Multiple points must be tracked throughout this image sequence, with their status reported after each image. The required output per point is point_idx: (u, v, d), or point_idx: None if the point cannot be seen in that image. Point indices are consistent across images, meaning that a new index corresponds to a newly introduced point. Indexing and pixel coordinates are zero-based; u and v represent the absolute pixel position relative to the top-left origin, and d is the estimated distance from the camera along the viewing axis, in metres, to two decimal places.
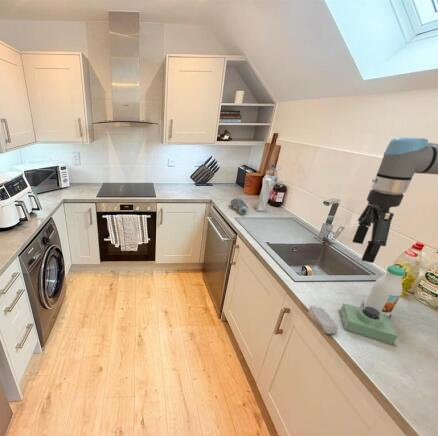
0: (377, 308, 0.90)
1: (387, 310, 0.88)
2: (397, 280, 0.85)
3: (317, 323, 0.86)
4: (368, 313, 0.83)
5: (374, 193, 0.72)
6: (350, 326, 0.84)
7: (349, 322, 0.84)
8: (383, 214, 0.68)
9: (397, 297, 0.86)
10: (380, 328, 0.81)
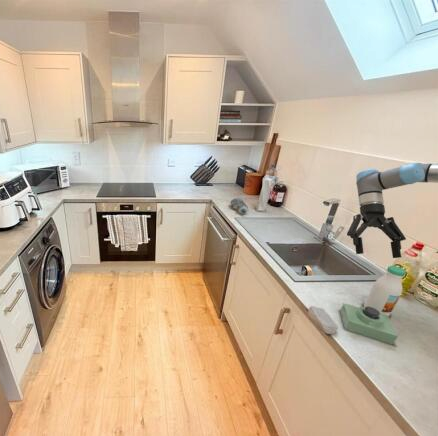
0: (377, 308, 0.90)
1: (388, 310, 0.88)
2: (397, 280, 0.85)
3: (317, 323, 0.86)
4: (368, 313, 0.83)
5: None
6: (350, 326, 0.84)
7: (349, 322, 0.84)
8: (353, 216, 0.99)
9: (397, 297, 0.86)
10: (380, 328, 0.81)
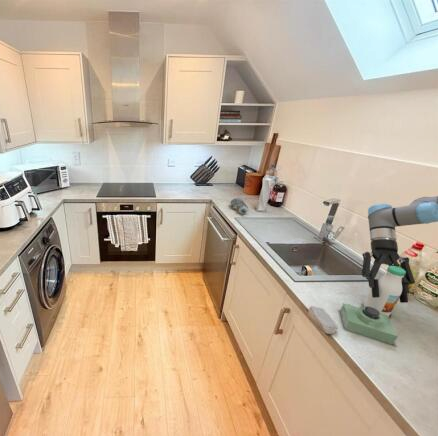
0: (377, 308, 0.90)
1: (387, 310, 0.88)
2: (397, 280, 0.85)
3: (317, 323, 0.86)
4: (368, 313, 0.83)
5: None
6: (350, 326, 0.84)
7: (349, 322, 0.84)
8: (362, 254, 0.95)
9: (397, 297, 0.86)
10: (380, 328, 0.81)
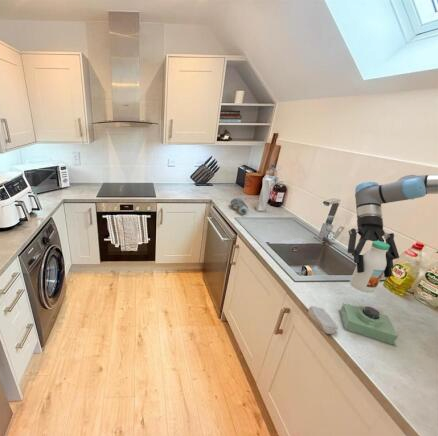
0: (362, 283, 0.90)
1: (372, 285, 0.89)
2: (381, 254, 0.86)
3: (317, 323, 0.86)
4: (368, 313, 0.83)
5: None
6: (350, 326, 0.84)
7: (349, 322, 0.84)
8: None
9: (381, 271, 0.87)
10: (380, 328, 0.81)
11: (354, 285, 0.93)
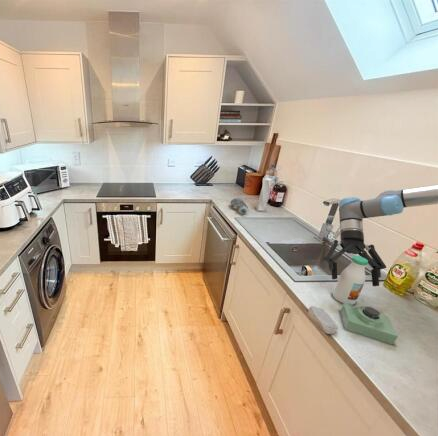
0: (343, 296, 0.96)
1: (353, 297, 0.94)
2: (360, 269, 0.91)
3: (317, 323, 0.86)
4: (368, 313, 0.83)
5: None
6: (350, 326, 0.84)
7: (349, 322, 0.84)
8: (332, 242, 1.01)
9: (361, 285, 0.92)
10: (380, 328, 0.81)
11: (336, 297, 0.98)
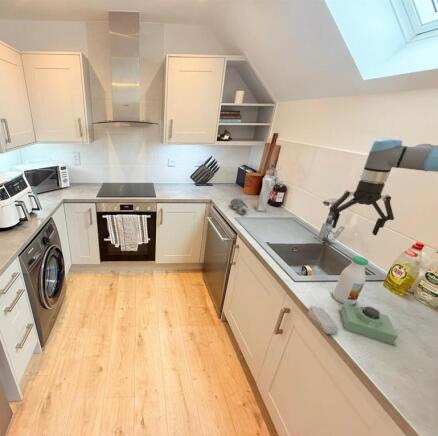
0: (343, 296, 0.96)
1: (353, 297, 0.94)
2: (360, 269, 0.91)
3: (317, 323, 0.86)
4: (368, 313, 0.83)
5: None
6: (350, 326, 0.84)
7: (349, 322, 0.84)
8: (345, 191, 0.97)
9: (361, 285, 0.92)
10: (380, 328, 0.81)
11: (336, 297, 0.98)
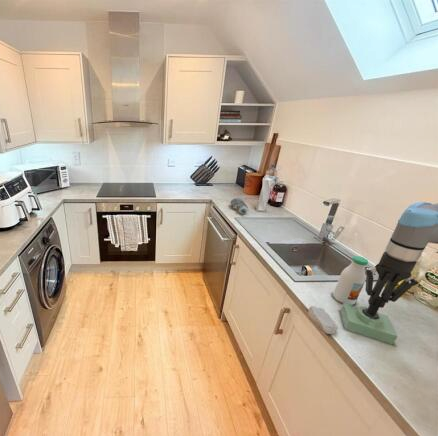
0: (343, 296, 0.96)
1: (353, 297, 0.94)
2: (360, 269, 0.91)
3: (317, 323, 0.86)
4: (367, 315, 0.83)
5: None
6: (350, 326, 0.84)
7: (349, 322, 0.84)
8: (365, 269, 0.81)
9: (361, 285, 0.92)
10: (380, 328, 0.81)
11: (336, 297, 0.98)
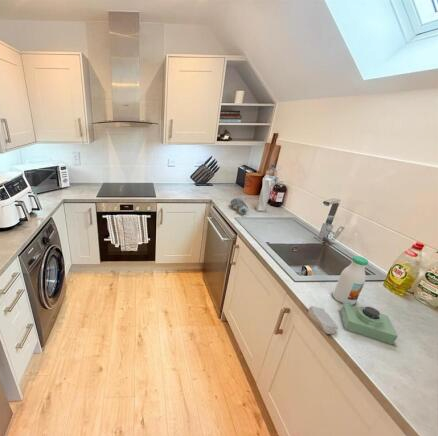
0: (343, 296, 0.96)
1: (353, 297, 0.94)
2: (360, 269, 0.91)
3: (317, 323, 0.86)
4: (368, 313, 0.83)
5: None
6: (350, 326, 0.84)
7: (349, 322, 0.84)
8: None
9: (361, 285, 0.92)
10: (380, 328, 0.81)
11: (336, 297, 0.98)
